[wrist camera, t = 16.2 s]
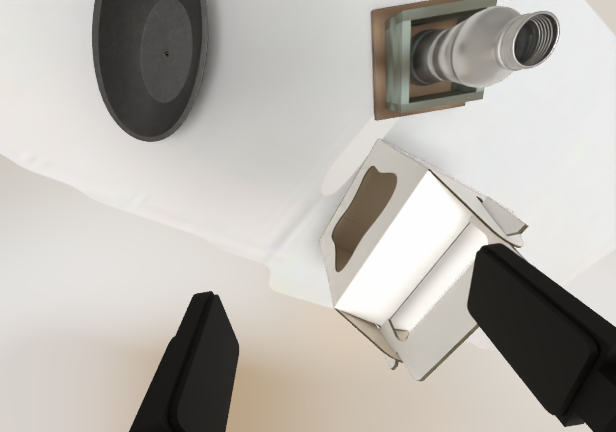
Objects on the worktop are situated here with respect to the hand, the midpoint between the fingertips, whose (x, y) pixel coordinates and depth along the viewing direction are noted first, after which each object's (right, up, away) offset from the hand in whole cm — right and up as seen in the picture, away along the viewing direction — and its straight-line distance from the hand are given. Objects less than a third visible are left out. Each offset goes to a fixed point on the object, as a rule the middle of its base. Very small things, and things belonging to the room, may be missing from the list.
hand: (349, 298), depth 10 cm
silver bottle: (+14, +25, +28) cm, 41 cm away
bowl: (-20, +25, +27) cm, 42 cm away
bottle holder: (+15, +26, +29) cm, 42 cm away
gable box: (+11, +5, +40) cm, 41 cm away
